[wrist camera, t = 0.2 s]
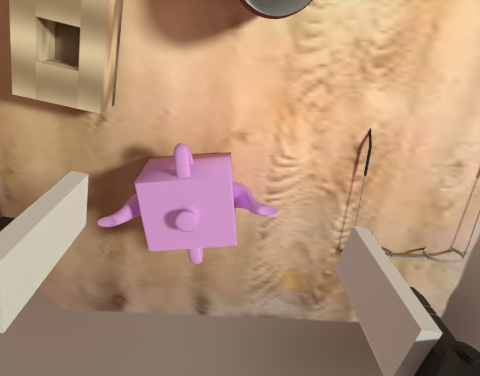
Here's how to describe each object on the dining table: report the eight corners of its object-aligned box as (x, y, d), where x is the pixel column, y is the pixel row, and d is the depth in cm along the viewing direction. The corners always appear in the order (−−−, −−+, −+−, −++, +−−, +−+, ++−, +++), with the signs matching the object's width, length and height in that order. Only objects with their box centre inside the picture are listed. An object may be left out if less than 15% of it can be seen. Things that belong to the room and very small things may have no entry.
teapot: (194, 245, 50) (185, 297, 40) (120, 187, 45) (90, 229, 36) (269, 177, 46) (281, 216, 36) (196, 107, 41) (186, 129, 31)
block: (36, -98, 33) (4, -120, 28) (129, -71, 34) (113, -88, 29) (37, 87, 40) (12, 94, 35) (114, 105, 41) (99, 113, 36)
